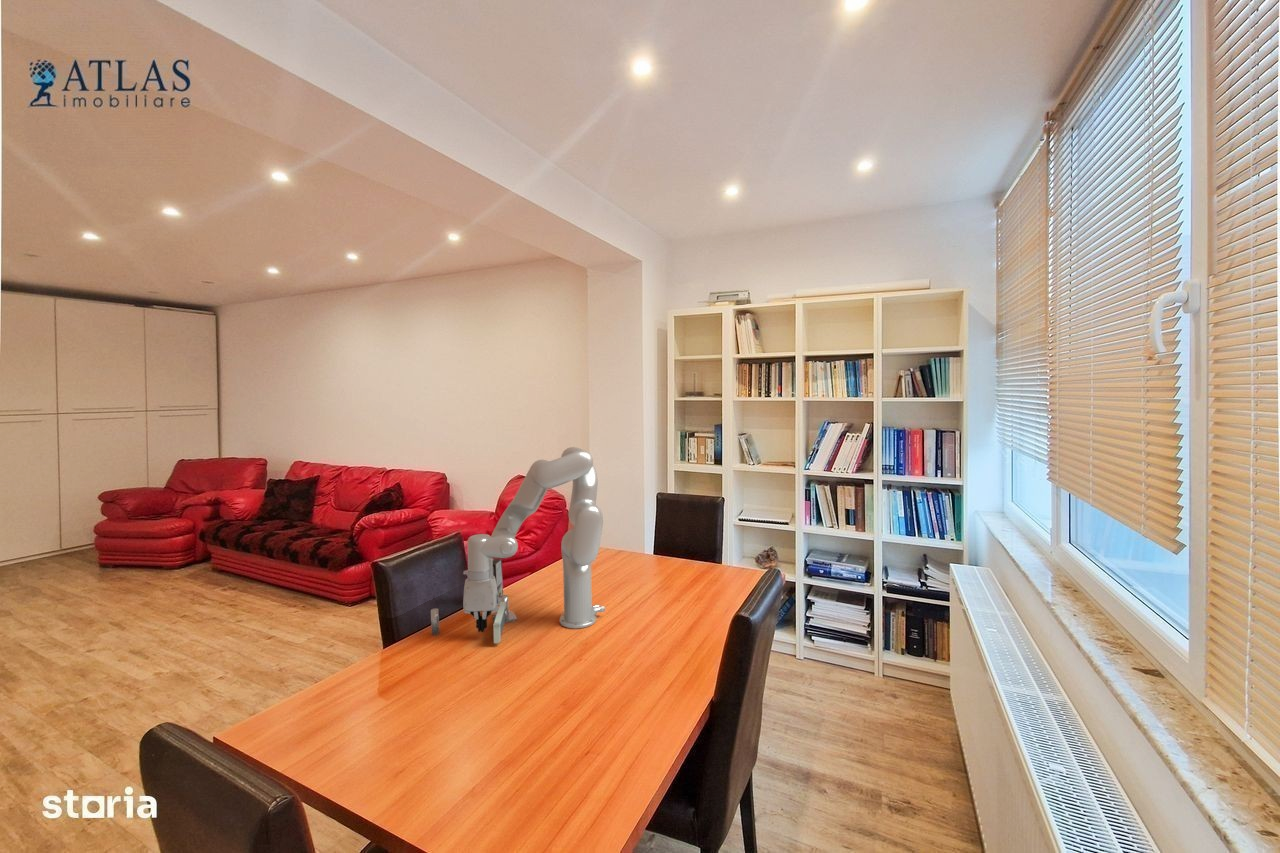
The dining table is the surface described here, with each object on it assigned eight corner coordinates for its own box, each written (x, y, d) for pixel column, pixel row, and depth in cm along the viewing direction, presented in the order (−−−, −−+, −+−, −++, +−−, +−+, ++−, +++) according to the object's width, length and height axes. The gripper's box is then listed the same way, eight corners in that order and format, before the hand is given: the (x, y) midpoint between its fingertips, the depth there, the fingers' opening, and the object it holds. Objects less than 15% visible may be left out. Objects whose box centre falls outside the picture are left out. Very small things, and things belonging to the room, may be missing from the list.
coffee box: (503, 599, 191) (502, 558, 190) (497, 606, 185) (496, 564, 184) (481, 599, 192) (479, 558, 191) (473, 606, 186) (472, 563, 185)
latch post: (438, 631, 166) (438, 607, 165) (439, 634, 163) (438, 610, 163) (431, 633, 164) (430, 609, 164) (431, 636, 162) (431, 612, 162)
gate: (501, 618, 172) (500, 601, 172) (506, 617, 172) (506, 601, 172) (493, 643, 154) (493, 625, 154) (499, 642, 155) (499, 624, 154)
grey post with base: (512, 613, 179) (511, 591, 179) (517, 620, 173) (516, 598, 172) (492, 617, 176) (491, 595, 175) (496, 625, 170) (495, 602, 169)
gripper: (452, 578, 155) (454, 636, 156) (501, 577, 156) (502, 634, 157) (460, 570, 162) (461, 625, 163) (506, 569, 163) (507, 624, 164)
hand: (481, 629), depth 160 cm, fingers closed
